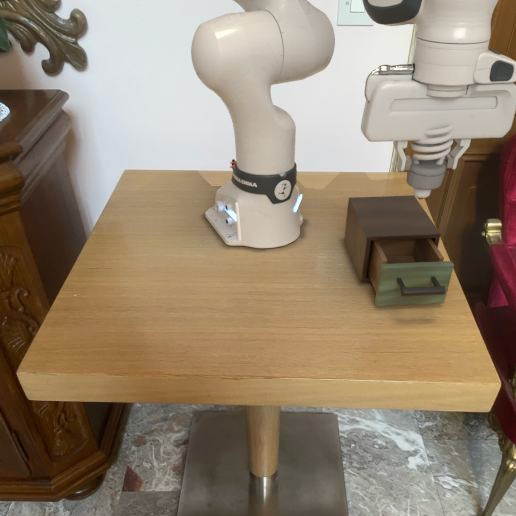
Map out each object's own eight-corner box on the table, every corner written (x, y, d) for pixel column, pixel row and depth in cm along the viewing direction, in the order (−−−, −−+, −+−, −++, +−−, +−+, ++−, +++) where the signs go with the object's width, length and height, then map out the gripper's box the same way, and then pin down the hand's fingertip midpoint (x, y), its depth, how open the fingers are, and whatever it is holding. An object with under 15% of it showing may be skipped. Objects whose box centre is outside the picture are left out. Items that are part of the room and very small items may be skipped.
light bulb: (406, 207, 77) (421, 121, 69) (397, 191, 81) (411, 109, 73) (444, 206, 77) (464, 121, 69) (433, 190, 81) (451, 108, 74)
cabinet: (430, 279, 94) (441, 233, 88) (360, 282, 93) (367, 236, 88) (405, 237, 106) (413, 195, 100) (344, 240, 105) (348, 197, 100)
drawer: (453, 318, 83) (464, 279, 79) (382, 321, 83) (389, 282, 78) (418, 258, 98) (425, 222, 93) (357, 260, 97) (362, 225, 93)
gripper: (373, 71, 64) (360, 180, 73) (535, 66, 65) (503, 175, 74) (362, 59, 69) (351, 163, 78) (513, 56, 70) (485, 159, 79)
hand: (426, 169), depth 76 cm, fingers closed on light bulb, 5 cm apart
